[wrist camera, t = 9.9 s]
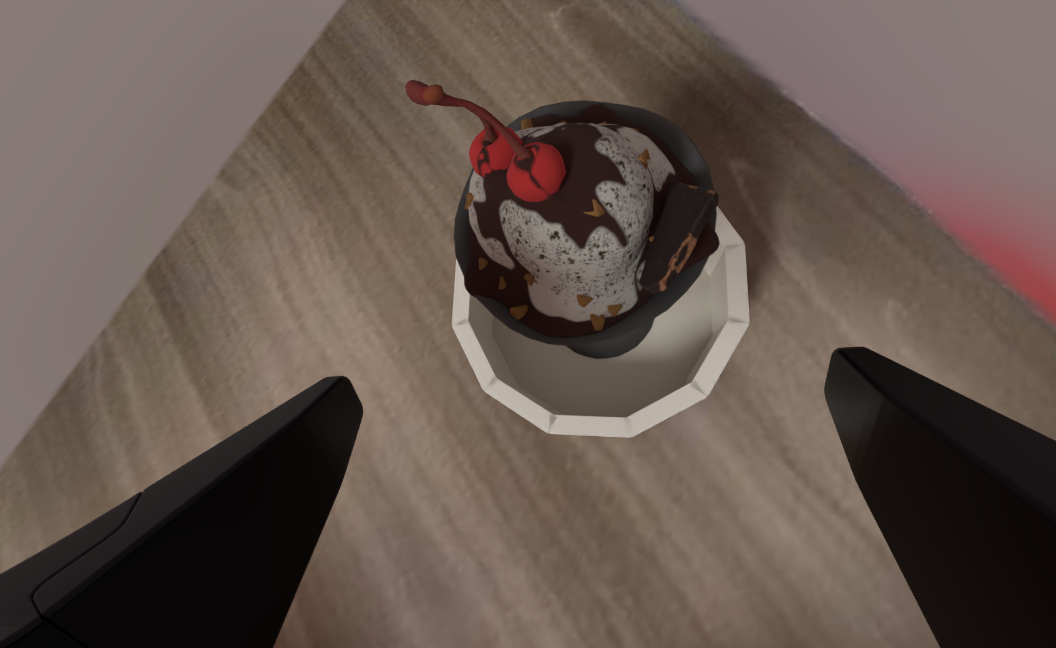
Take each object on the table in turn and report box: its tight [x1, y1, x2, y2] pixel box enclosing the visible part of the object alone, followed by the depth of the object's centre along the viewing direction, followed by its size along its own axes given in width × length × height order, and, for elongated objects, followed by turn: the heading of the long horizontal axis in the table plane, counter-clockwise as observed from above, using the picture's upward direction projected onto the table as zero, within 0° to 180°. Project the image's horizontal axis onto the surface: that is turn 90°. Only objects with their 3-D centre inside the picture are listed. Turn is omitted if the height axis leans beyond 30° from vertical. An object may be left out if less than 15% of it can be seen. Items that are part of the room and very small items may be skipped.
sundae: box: [406, 80, 720, 359], centre depth 14 cm, size 7×7×15 cm
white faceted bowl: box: [452, 206, 750, 438], centre depth 20 cm, size 11×11×4 cm
